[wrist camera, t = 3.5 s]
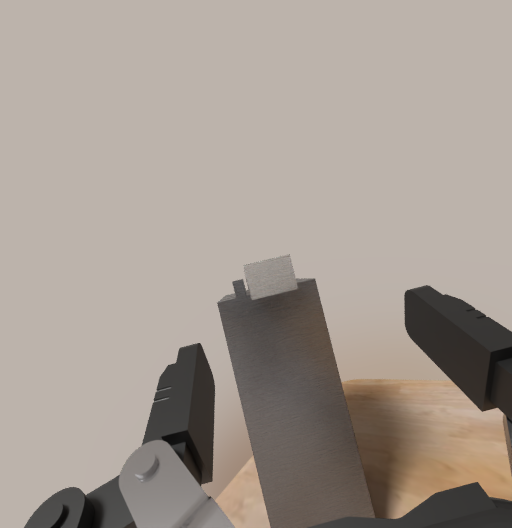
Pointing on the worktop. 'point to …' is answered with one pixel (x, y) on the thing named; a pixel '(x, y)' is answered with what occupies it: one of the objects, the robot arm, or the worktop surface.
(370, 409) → the worktop surface
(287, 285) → the brushed metal block
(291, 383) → the gray grooved tower
